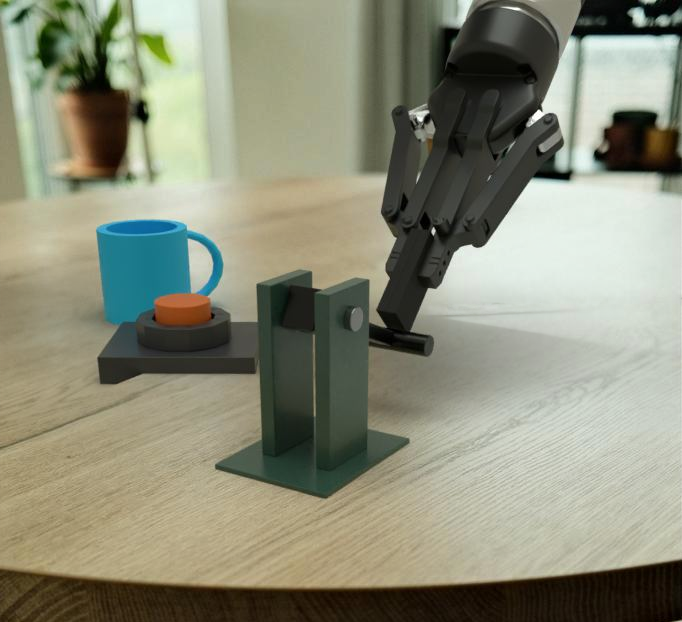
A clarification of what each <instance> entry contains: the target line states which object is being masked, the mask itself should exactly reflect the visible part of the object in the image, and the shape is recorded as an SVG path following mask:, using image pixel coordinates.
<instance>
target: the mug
mask: <svg viewBox="0 0 682 622" xmlns="http://www.w3.org/2000/svg"><path fill="white" fill-rule="evenodd" d="M95 233H96V242H97V253H98V262H99V272H100V281H101V291H102V298H103V310H104V318H105V320H106V321H107V322H109V323H111V324H113V325H117V326H120V325H121V324H122V322H136V319H137V317H138V316H139V314H140V313H143V312H145V311H148V310H151V309H154V308H155V304H154V301H155V300H156V299H157V298H159V297H162V296H165V295H170V294H180V293H191V294H192V286H191V270H190V269H191V267H190V255H189V254H190V253H189V240H191V241H195V242H197V243H199V244H201V245H202V246H203V247H205V248H206V250H207V251H208V253H209V254H210V256H211V260H212V271H211V274H210V277H209V279H208V280H207V282H206V283H205V284H204V285H203V286H202V288H201V289H199V290H198V291H196V292H195V293H194V294H200V295H204V296H207V297H209V296H210V295H211V294H212V292H213V291H214V290H215V289H217V287H218V285H219V284H220V282H221V279H222V277H223V273H224V272H223V271H224V260H223V256H222V252H221V251H220V249H219V248H218V246H217V245H216V243H215V242H214V241H213V240H211V239H210V238H208V237H207V236H206V235H204V234H202V233H200V232H197V231H193V230H188V225H187V224H185V223H184V222H181V221H177V220H171V219H170V220H169V219H153V218H151V219H150V218H149V219H147V218H146V219H142V218H141V219H128V220H127V219H126V220H119V221H112V222H108V223H103V224H101V225H98V226H96V229H95Z"/></svg>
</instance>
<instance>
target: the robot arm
mask: <svg viewBox="0 0 682 622" xmlns="http://www.w3.org/2000/svg"><path fill="white" fill-rule="evenodd" d="M584 3H585V0H472V2H471V3H470V6H469V8H468V10H467V12H466V16H465V20H464V22H463V23H462V25H461V27H460V30H459V31H458V34H457V36H456V39H455V41H454V42H453V46H452V47H451V50H450V52H449V54H448V57H447V59H446V63H445V67H444V72H443V77H442V80H441V82H440V83H439V84H438V86H437V87H436V88H435V89H433V90H432V91H431V93H430V94H429V95H428V98H427V102H426V103H424V104H422V105H420V106H418V107H415V108H413V109H410V110H408V108H407V106H406V105H404V104H399V105H397V106H395V107H394V108H393V109H391V115H390V116H391V119H392V124H393V127H394V131H395V133H394V138H393V143H392V148H391V153H390V158H389V165H388V169H387V176H386V179H385V187H384V191H383V192H384V193H383V197H382V203H381V208H380V214H381V216H382V219H383V220H384V222H385V224H386V225H387V227H388V230H389V231H390V233H391V235H392V236H393V237H394V238H396V239H395V241H394V243H393V246H392V248H391V251H390V252H389V255H388V258H387V260H386V261H385V267H384V271H385V273H386V275H387V276H388V281H387V283H386V286H385V288H384V290H383V293H382V295H381V298H380V300H379V302H378V304H377V306H376V310H375V311H376V313H377V314H378V317H380V319H381V320H382V323H383V324H384V325H385V327H386V328H392V329H397V330H403V331H409V332H411V330H412V328H413V325H414V323H415V321H416V319H417V316H418V313H419V311H420V309H421V306H422V304H423V302H424V299H425V297H426V295H427V293H428V290H429V289H431V290H437V289H438V288H439V287H440V285H441V284H442V283H443V281H444V278H445V275H446V273H447V271H448V270H449V269H448V268H449V267H450V264H451V261H452V259H453V257H454V255H455V253H456V252H457V251H458V250H460V249H461V248H462V247H466V246H472V247H473V248H475V249H481V248H483V247H485V246H486V245H487V243H488V242H489V241H490V240H491V238H492V236H493V235H494V233H495V232H496V231H497V230H498V228H499V227H500V225H501V224H502V222H503V221H504V219H505V218H506V216H507V215H508V214H509V212H510V211H511V209H512V207H514V205H515V204H516V202H517V201H518V199H519V197H520V196H521V195H522V194H523V192H524V190H525V189H526V187H527V186H528V185H529V183H530V181H531V180H532V179H533V177H534V176H535V175H536V173H537V172H538V170H539V169H540V167H541V166H542V165H543V164H544V163H545V162H547V161H548V160H549V159H550V158H551V157H553V156H554V155H555V154H557V153H558V152H559V151H560V150H562V148H563V147H564V145H565V140H564V139H565V138H564V136H563V132H562V129H561V125H560V122H559V121H560V120H559V118H558V117H559V116H558V115H557V114H556V113H554V112H548V113H544V110H543V106H542V105H543V103H544V101H545V99H546V97H547V94H548V92H549V89H550V87H551V85H552V82H553V80H554V77H555V76H556V72H557V70H558V67H559V65H560V64H559V63H560V61H561V58H562V56H563V54H564V52H565V49H566V47H567V44H568V42H569V40H570V37H571V34H572V32H573V30H574V27H575V25H576V22H577V20H578V18H579V15H580V13H581V10H582V8H583V6H584ZM432 122H433V124H434V127H435V133H434V135H433V146H432V149H431V151H430V154H429V156H427V159H426V160H425V163H424V164H423V167H422V170H421V172H420V175H419V170H420V165H421V158H422V145H421V143H422V144H423V143H425V141H427V138H426V133H427V127H428V126H429V124H430V123H432ZM510 146H511V147H510ZM509 147H510V148H509ZM507 148H509V149H508V151H507V153H506V154H505V156H503V153H504V151H505V150H506V149H507ZM502 156H503V159H502ZM501 159H502V160H501ZM433 229H434V233H433V232H432V231H433Z"/></svg>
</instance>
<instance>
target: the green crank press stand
mask: <svg viewBox="0 0 682 622" xmlns="http://www.w3.org/2000/svg"><path fill="white" fill-rule="evenodd" d="M370 282H371V281H370V278H369V279H368V278H362V277H353V278H350V279H347V280H345V281H342V282H340V283H336V284H334V285H331V286H329V287H326V288H324V289H322V290H321V291H318V292H315V293H314V306H315V335H313V334H307V333H304V332H301V331H298V330H294V329H291V328H288V327H285V326H282V321H283V316H284V312H285V307H286V302H287V297H288V292H289V287H290V285H297V286H303V287H310V288H313V271H312V270H308V269H307V270H306V269H300V268H299V269H296V270H292V271H289V272H287V273H284V274H281V275H278V276H276V277H273V278H269V279H267V280H263V281H260V282H257V283H256V287H255V288H256V311H257V312H256V315H257V322H258V344H259V360H258V364H259V365H258V368H259V369H258V371H259V372H258V373H259V393H260V394H259V395H260V396H259V397H260V398H259V399H260V400H259V401H260V425H261V427H260V428H261V429H260V430H261V439H259V440H257V441H256V442H254V443H252V444H250V445H248V446H247V447H244V448H243V449H241V450H239V451H237V452H235V453H233V454H231V455H229V456H227V457H226V458H224V459H222V460H220V461H218V462H217V463H215V464H214V469H215V470H217V471H220V472H221V471H222V472H225V473H229V474H233V475H236V476H240V477H243V478H247V479H250V480H251V479H252V480H254V481H258V482H262V483H265V484H268V485H269V484H270V485H272V486H276V487H280V488H284V489H287V490H290V491H291V490H292V491H295V492H299V493H302V494H306V495H309V496H313V497H317V498H320V499H328V498H329V497H331V496H333V495H334V494H335V493H337V492H338V491H340V490H341V489H343V488H344V487H346V486H347V485H349V484H351V482H354V481H355V480H356V479H358V478H359V477H361V476H362V475H363V474H365V473H366V472H368V471H370V470H371V469H373V468H375V466H377V465H379V464H380V463H382V462H384V461H385V460H387V459H388V458H390V457H391V456H392V455H394V454H396V453H397V452H399V451H401V449H403V448H405V447H406V446H408V445H409V444H410V437H405V436H401V435H396V434H391V433H388V432H383V431H379V430H375V429H370V428H368V427H369V426H368V425H369V423H368V422H369V421H368V420H369V355H370V353H369V350H370V349H369V348H370V347H369V322H370V287H371V286H370ZM314 384H315V385H314ZM314 386H315V387H314ZM314 391H315V393H314ZM314 398H315V399H314Z"/></svg>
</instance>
